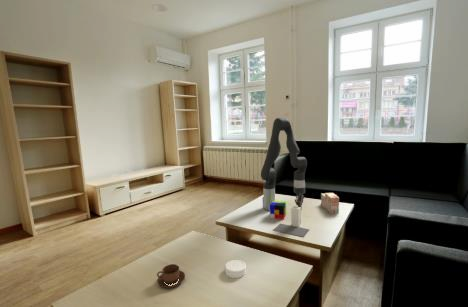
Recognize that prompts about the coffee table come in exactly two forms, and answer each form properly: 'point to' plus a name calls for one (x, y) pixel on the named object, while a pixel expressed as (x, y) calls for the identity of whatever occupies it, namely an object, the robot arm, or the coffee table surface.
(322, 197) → the stack of blocks
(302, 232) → the mat
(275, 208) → the puzzle toy
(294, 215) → the tall block
